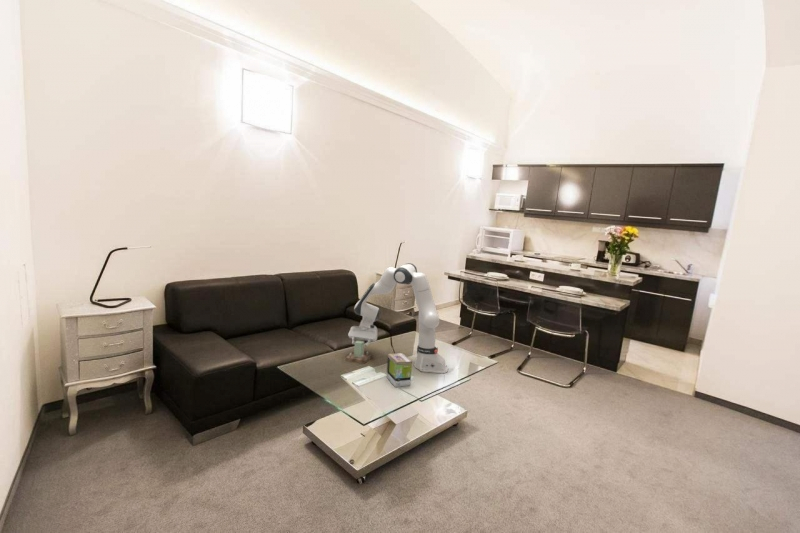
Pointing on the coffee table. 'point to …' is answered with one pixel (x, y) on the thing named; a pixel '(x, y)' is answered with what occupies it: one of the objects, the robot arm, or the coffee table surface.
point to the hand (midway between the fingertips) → (359, 344)
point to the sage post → (359, 349)
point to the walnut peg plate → (363, 358)
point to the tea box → (399, 369)
